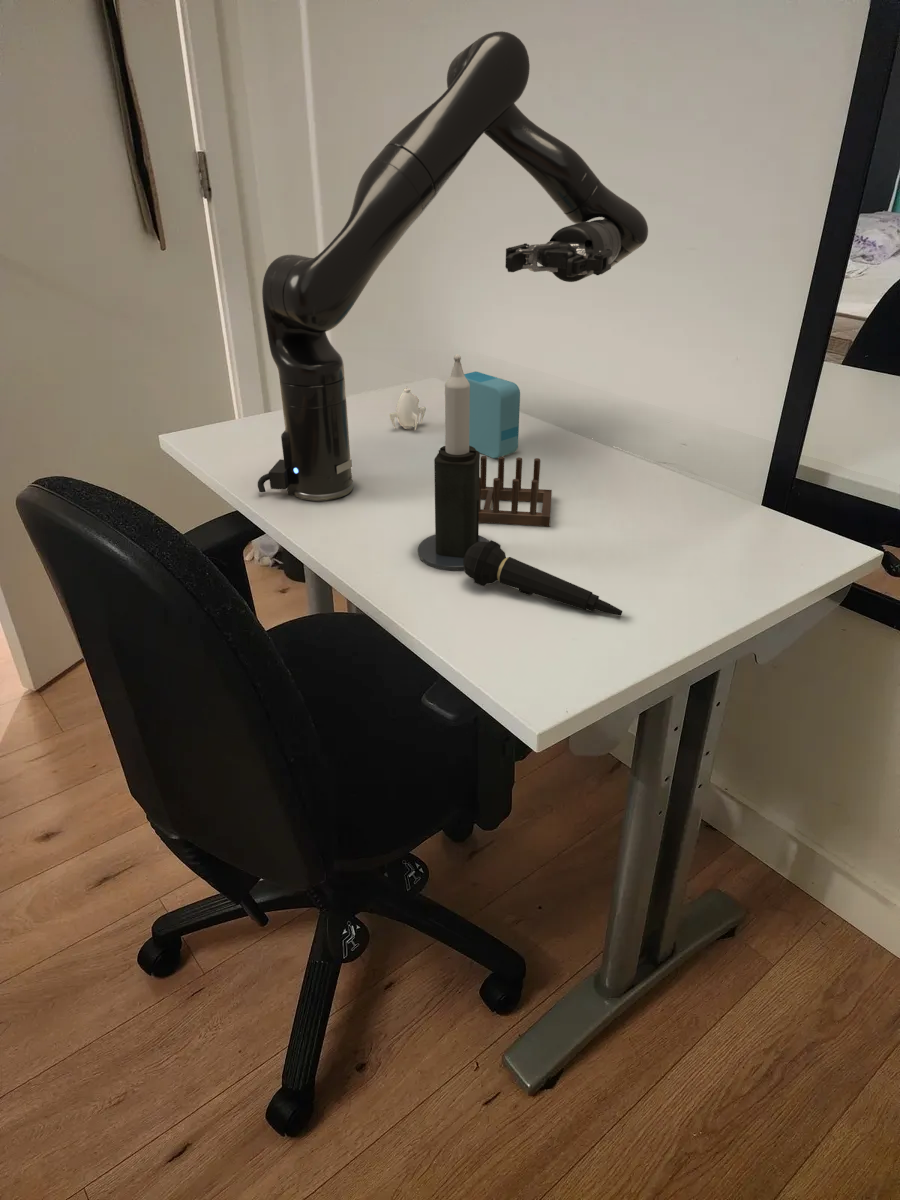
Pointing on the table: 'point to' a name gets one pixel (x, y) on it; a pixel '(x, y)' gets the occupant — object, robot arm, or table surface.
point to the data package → (493, 415)
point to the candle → (456, 473)
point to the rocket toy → (407, 410)
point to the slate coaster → (438, 561)
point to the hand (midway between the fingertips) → (539, 266)
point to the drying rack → (513, 497)
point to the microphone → (527, 578)
